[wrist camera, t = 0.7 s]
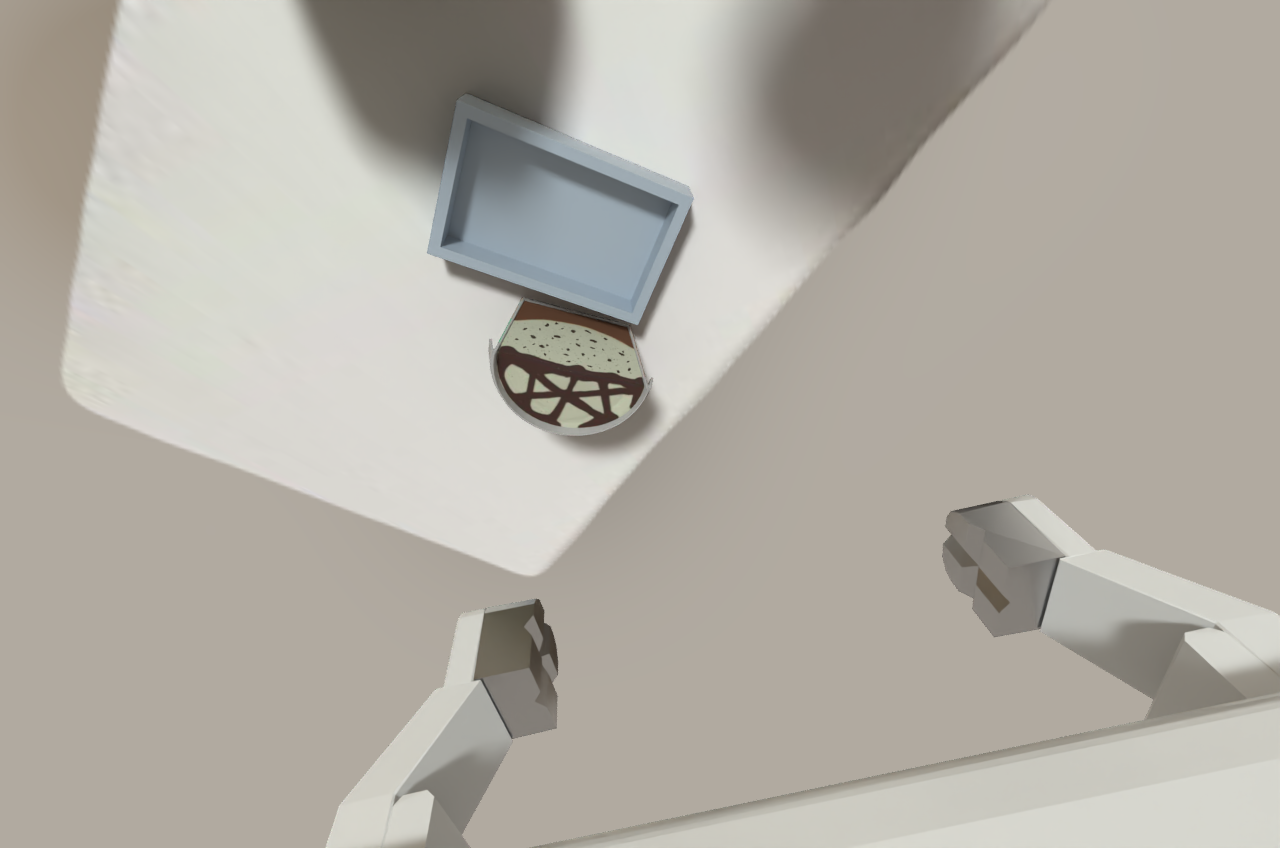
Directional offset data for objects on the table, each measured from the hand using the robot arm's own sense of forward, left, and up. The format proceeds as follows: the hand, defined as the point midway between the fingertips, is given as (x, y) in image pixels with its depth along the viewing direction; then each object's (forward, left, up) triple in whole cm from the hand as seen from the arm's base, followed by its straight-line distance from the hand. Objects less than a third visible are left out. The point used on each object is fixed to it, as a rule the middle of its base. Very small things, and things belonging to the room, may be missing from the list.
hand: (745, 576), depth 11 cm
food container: (+16, 0, -38) cm, 42 cm away
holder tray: (+6, -4, -38) cm, 39 cm away
